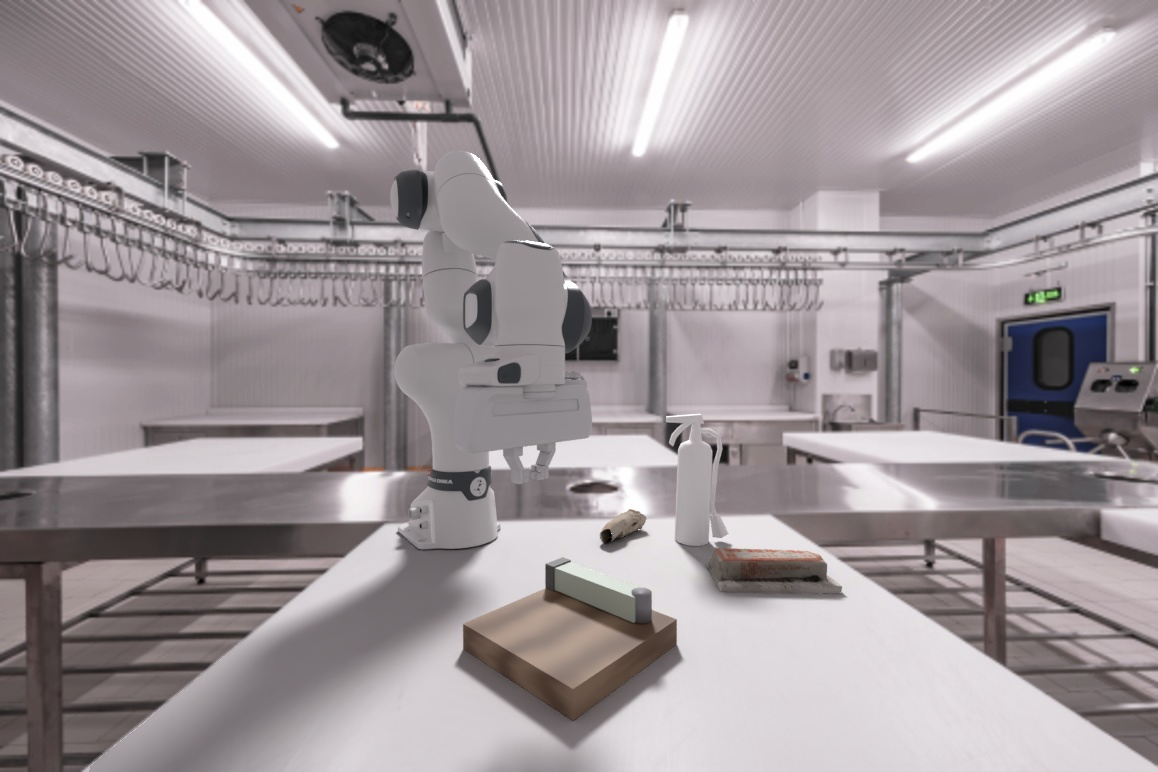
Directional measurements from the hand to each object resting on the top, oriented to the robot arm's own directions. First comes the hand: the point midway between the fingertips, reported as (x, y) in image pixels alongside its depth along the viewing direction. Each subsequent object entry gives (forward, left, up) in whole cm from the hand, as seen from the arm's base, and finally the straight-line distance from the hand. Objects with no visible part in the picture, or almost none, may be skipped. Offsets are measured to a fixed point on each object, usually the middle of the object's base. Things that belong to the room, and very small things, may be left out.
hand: (530, 480), depth 62 cm
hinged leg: (+5, +7, -16) cm, 18 cm away
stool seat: (+6, +1, -19) cm, 20 cm away
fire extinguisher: (-2, +45, -19) cm, 49 cm away
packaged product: (+16, +37, -20) cm, 44 cm away
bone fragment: (-15, +38, -20) cm, 45 cm away
